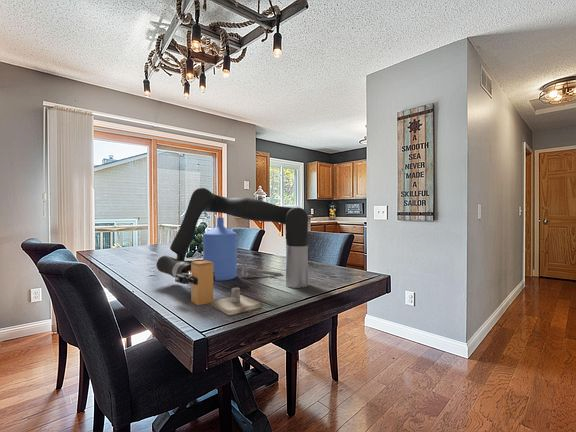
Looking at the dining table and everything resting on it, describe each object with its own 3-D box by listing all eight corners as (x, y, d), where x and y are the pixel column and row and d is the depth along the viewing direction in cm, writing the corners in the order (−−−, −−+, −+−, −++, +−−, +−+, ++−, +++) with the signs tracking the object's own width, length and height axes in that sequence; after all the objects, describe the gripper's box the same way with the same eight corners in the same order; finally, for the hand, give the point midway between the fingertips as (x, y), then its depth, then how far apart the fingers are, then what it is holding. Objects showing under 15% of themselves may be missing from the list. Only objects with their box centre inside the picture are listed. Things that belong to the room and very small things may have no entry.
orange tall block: (205, 298, 112) (206, 260, 111) (213, 302, 108) (213, 262, 107) (191, 301, 108) (191, 261, 108) (198, 305, 104) (198, 264, 104)
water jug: (227, 282, 135) (227, 218, 134) (196, 279, 140) (196, 218, 139) (242, 275, 150) (242, 217, 149) (213, 272, 155) (213, 217, 154)
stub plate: (241, 298, 112) (241, 282, 111) (260, 307, 103) (260, 289, 102) (210, 305, 104) (210, 288, 104) (229, 315, 95) (229, 296, 95)
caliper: (241, 278, 145) (242, 265, 144) (241, 277, 146) (241, 264, 146) (283, 276, 150) (283, 263, 150) (283, 275, 152) (283, 262, 151)
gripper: (166, 264, 114) (185, 272, 101) (203, 260, 123) (224, 267, 110) (166, 284, 114) (185, 295, 101) (203, 279, 123) (224, 287, 111)
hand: (205, 280), depth 106 cm, fingers closed on orange tall block, 5 cm apart
